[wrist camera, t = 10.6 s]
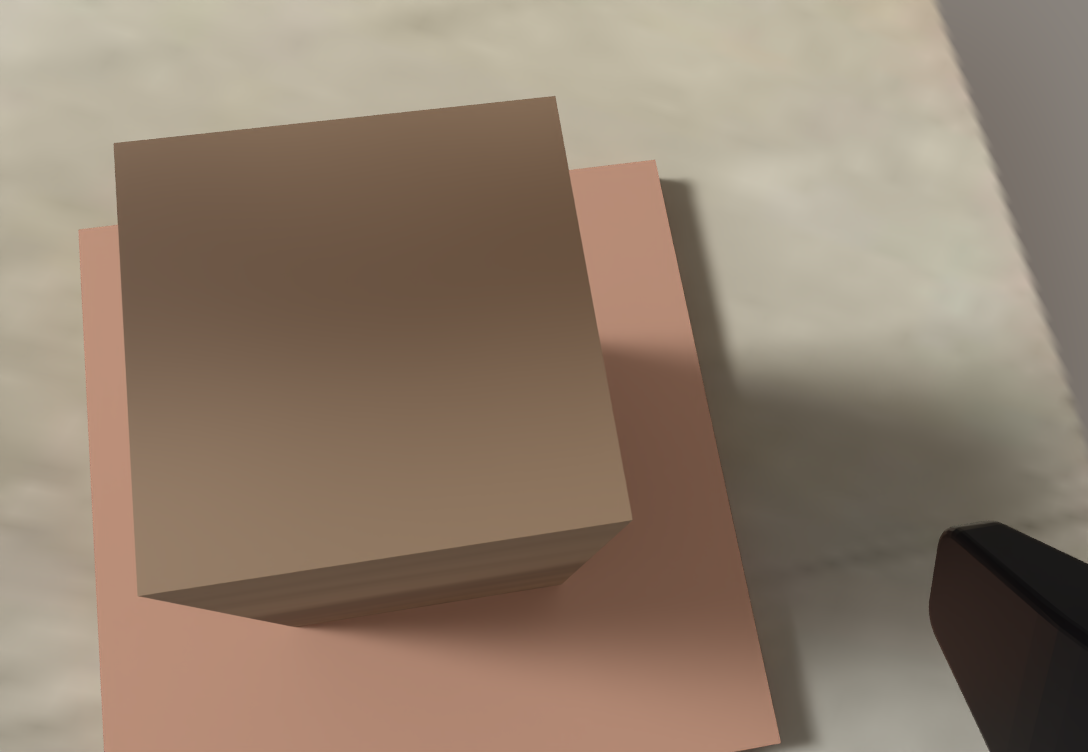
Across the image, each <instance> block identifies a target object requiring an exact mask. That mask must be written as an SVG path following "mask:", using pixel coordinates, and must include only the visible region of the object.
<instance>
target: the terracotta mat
mask: <svg viewBox="0 0 1088 752" xmlns="http://www.w3.org/2000/svg"><path fill="white" fill-rule="evenodd" d="M569 174H570V180H571V185H572V191H573V196H574V202H575V207H576V213H577V218H578V224H579V229H580V235H581V240H582V245H583V251H584V256H585V262H586V267H587V273H588V278H589V284H590V289H591V295H592V300H593V306H594V311H595V316H596V322H597V327H598V333H599V338H600V344H601V349H602V355H603V360H604V366H605V371H606V377H607V382H608V388H609V393H610V398H611V404H612V409H613V415H614V420H615V426H616V431H617V437H618V442H619V448H620V453H621V459H622V464H623V470H624V475H625V480H626V486H627V491H628V497H629V502H630V508H631V513H632V519H633V520H632V521H631V522H630V523H629V524H628V525H627V526H626V527H625V528H623V529H622V530H621V531H620V532H619V533H618V534H617V535H616V536H615V537H613V538H612V539H611V540H610V541H609V542H608V543H607V544H606V545H605V546H603V547H602V548H601V549H600V550H599V551H598V552H597V553H596V554H595V555H593V556H592V557H591V558H590V559H589V560H588V561H587V562H586V563H585V564H584V565H582V566H581V567H580V568H579V569H578V570H577V571H576V572H575V573H574V574H572V575H571V576H570V577H569V578H568V579H567V580H566V581H565V582H564V583H562V584H561V585H556V586H549V587H543V588H537V589H530V590H524V591H518V592H512V593H505V594H499V595H493V596H487V597H480V598H474V599H468V600H461V601H455V602H449V603H443V604H436V605H430V606H424V607H417V608H411V609H405V610H399V611H392V612H386V613H380V614H373V615H367V616H361V617H355V618H348V619H342V620H336V621H330V622H323V623H317V624H311V625H304V626H298V627H291V626H286V625H281V624H276V623H271V622H266V621H261V620H256V619H251V618H246V617H241V616H236V615H231V614H225V613H220V612H215V611H210V610H205V609H200V608H195V607H190V606H185V605H180V604H175V603H170V602H165V601H160V600H155V599H150V598H145V597H139V596H138V594H137V575H136V556H135V537H134V518H133V499H132V480H131V461H130V443H129V424H128V405H127V386H126V367H125V348H124V329H123V310H122V291H121V272H120V253H119V234H118V225H113V226H105V227H97V228H88V229H80V230H79V250H80V270H81V290H82V310H83V331H84V351H85V371H86V392H87V412H88V432H89V453H90V473H91V493H92V513H93V534H94V554H95V574H96V595H97V615H98V635H99V656H100V676H101V696H102V716H103V737H104V752H736V751H742V750H747V749H752V748H758V747H763V746H768V745H774V744H779V743H781V741H780V736H779V732H778V727H777V722H776V718H775V713H774V708H773V704H772V699H771V695H770V690H769V685H768V681H767V676H766V671H765V667H764V662H763V658H762V653H761V648H760V644H759V639H758V634H757V630H756V625H755V620H754V616H753V611H752V607H751V602H750V597H749V593H748V588H747V583H746V579H745V574H744V569H743V565H742V560H741V556H740V551H739V546H738V542H737V537H736V532H735V528H734V523H733V519H732V514H731V509H730V505H729V500H728V495H727V491H726V486H725V481H724V477H723V472H722V468H721V463H720V458H719V454H718V449H717V444H716V440H715V435H714V430H713V426H712V421H711V417H710V412H709V407H708V403H707V398H706V393H705V389H704V384H703V379H702V375H701V370H700V366H699V361H698V356H697V352H696V347H695V342H694V338H693V333H692V329H691V324H690V319H689V315H688V310H687V305H686V301H685V296H684V291H683V287H682V282H681V278H680V273H679V268H678V264H677V259H676V254H675V250H674V245H673V240H672V236H671V231H670V227H669V222H668V217H667V213H666V208H665V203H664V199H663V194H662V190H661V185H660V180H659V176H658V171H657V166H656V162H655V160H649V161H641V162H633V163H625V164H616V165H608V166H600V167H592V168H583V169H575V170H569Z"/></svg>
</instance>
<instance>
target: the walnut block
mask: <svg viewBox="0 0 1088 752" xmlns="http://www.w3.org/2000/svg"><path fill="white" fill-rule="evenodd" d="M114 159H115V178H116V197H117V215H118V234H119V253H120V272H121V291H122V310H123V329H124V348H125V367H126V386H127V405H128V424H129V443H130V461H131V480H132V499H133V518H134V537H135V556H136V575H137V594H138V596H139V597H145V598H150V599H155V600H160V601H165V602H170V603H175V604H180V605H185V606H190V607H195V608H200V609H205V610H210V611H215V612H220V613H225V614H231V615H236V616H241V617H246V618H251V619H256V620H261V621H266V622H271V623H276V624H281V625H286V626H291V627H298V626H304V625H311V624H317V623H323V622H330V621H336V620H342V619H348V618H355V617H361V616H367V615H373V614H380V613H386V612H392V611H399V610H405V609H411V608H417V607H424V606H430V605H436V604H443V603H449V602H455V601H461V600H468V599H474V598H480V597H487V596H493V595H499V594H505V593H512V592H518V591H524V590H530V589H537V588H543V587H549V586H556V585H561V584H562V583H564V582H565V581H566V580H567V579H568V578H569V577H570V576H571V575H572V574H574V573H575V572H576V571H577V570H578V569H579V568H580V567H581V566H582V565H584V564H585V563H586V562H587V561H588V560H589V559H590V558H591V557H592V556H593V555H595V554H596V553H597V552H598V551H599V550H600V549H601V548H602V547H603V546H605V545H606V544H607V543H608V542H609V541H610V540H611V539H612V538H613V537H615V536H616V535H617V534H618V533H619V532H620V531H621V530H622V529H623V528H625V527H626V526H627V525H628V524H629V523H630V522H631V521H632V520H633V519H632V513H631V508H630V502H629V497H628V491H627V486H626V480H625V475H624V470H623V464H622V459H621V453H620V448H619V442H618V437H617V431H616V426H615V420H614V415H613V409H612V404H611V398H610V393H609V388H608V382H607V377H606V371H605V366H604V360H603V355H602V349H601V344H600V338H599V333H598V327H597V322H596V316H595V311H594V306H593V300H592V295H591V289H590V284H589V278H588V273H587V267H586V262H585V256H584V251H583V245H582V240H581V235H580V229H579V224H578V218H577V213H576V207H575V202H574V196H573V191H572V185H571V180H570V174H569V169H568V163H567V158H566V153H565V147H564V142H563V136H562V131H561V125H560V120H559V114H558V109H557V103H556V98H555V96H552V97H542V98H533V99H523V100H514V101H505V102H495V103H486V104H477V105H467V106H458V107H449V108H439V109H430V110H420V111H411V112H402V113H392V114H383V115H374V116H364V117H355V118H346V119H336V120H327V121H317V122H308V123H299V124H289V125H280V126H271V127H261V128H252V129H243V130H233V131H224V132H215V133H205V134H196V135H186V136H177V137H168V138H158V139H149V140H140V141H130V142H121V143H114Z"/></svg>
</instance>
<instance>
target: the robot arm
mask: <svg viewBox="0 0 1088 752" xmlns="http://www.w3.org/2000/svg"><path fill="white" fill-rule="evenodd" d="M929 615H930V621H931V625H932V628H933V632H934V634H935V636H936V639H937V641H938V643H939V645H940V647H941V649H942V651H943V654H944V656H945V658H946V660H947V662H948V664H949V666H950V668H951V671H952V673H953V675H954V677H955V679H956V681H957V683H958V685H959V688H960V690H961V692H962V694H963V696H964V698H965V700H966V702H967V705H968V707H969V709H970V711H971V713H972V715H973V717H974V719H975V722H976V724H977V726H978V728H979V730H980V732H981V734H982V736H983V739H984V741H985V743H986V745H987V747H988V749H989V751H990V752H1088V564H1087V563H1085V562H1083V561H1081V560H1078V559H1076V558H1074V557H1072V556H1070V555H1068V554H1066V553H1064V552H1062V551H1059V550H1057V549H1055V548H1053V547H1051V546H1049V545H1047V544H1045V543H1043V542H1040V541H1038V540H1036V539H1034V538H1032V537H1030V536H1028V535H1026V534H1023V533H1021V532H1019V531H1017V530H1015V529H1013V528H1011V527H1009V526H1007V525H1004V524H1002V523H999V522H996V521H982V522H976V523H970V524H964V525H958V526H953V527H950V528H948V529H946V530H945V531H944V532H943V534H942V535H941V537H940V539H939V543H938V548H937V555H936V561H935V567H934V574H933V580H932V587H931V593H930V600H929Z"/></svg>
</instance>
